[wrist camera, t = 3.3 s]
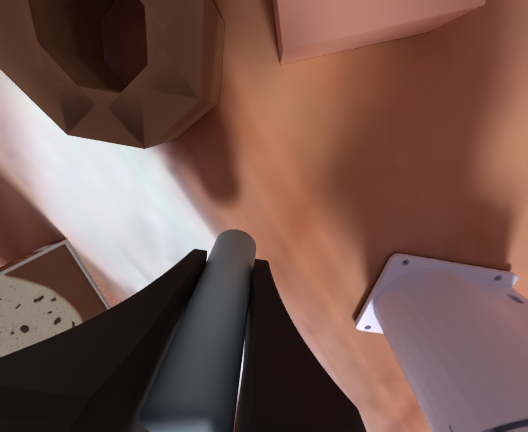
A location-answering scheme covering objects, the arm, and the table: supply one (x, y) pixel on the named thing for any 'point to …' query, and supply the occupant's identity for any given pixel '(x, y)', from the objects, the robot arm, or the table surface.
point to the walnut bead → (102, 77)
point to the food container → (45, 296)
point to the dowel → (206, 346)
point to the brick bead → (356, 23)
